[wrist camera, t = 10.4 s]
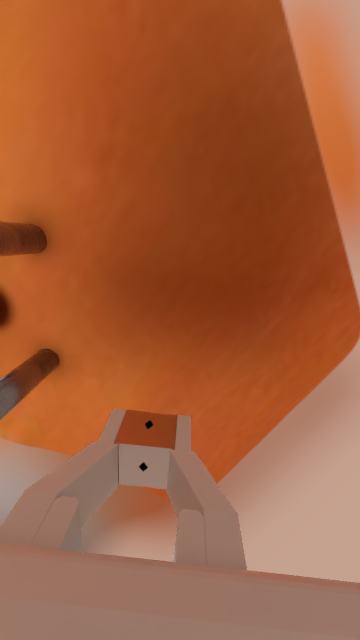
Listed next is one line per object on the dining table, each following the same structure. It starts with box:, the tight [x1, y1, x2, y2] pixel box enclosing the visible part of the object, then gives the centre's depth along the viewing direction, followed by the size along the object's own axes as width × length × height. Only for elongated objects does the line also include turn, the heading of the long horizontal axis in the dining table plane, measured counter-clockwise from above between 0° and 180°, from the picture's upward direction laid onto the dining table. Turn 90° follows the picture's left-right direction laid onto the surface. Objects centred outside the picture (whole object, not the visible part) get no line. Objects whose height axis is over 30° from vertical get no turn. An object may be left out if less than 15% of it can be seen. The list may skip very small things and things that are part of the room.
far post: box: [0, 349, 59, 420], centre depth 20 cm, size 2×2×9 cm
